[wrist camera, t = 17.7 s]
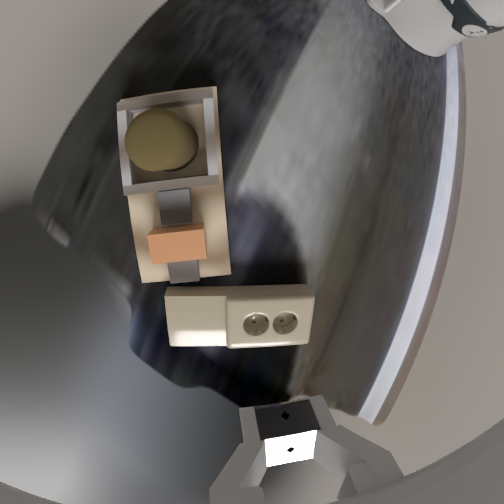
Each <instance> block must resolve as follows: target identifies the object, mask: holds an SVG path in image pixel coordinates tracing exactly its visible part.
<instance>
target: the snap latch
mask: <svg viewBox="0 0 504 504" xmlns="http://www.w3.org/2000/svg"><path fill="white" fill-rule="evenodd" d="M147 239H148V245H149V251H150V257H151V262H152V264H159V263H169V262H179V261H189V260H199V259H207V244H206V235H205V226H204V223H200V224H190V225H181V226H172V227H163V228H154V229H152V230H151V231H150V232H149V234H148V235H147Z"/></svg>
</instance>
